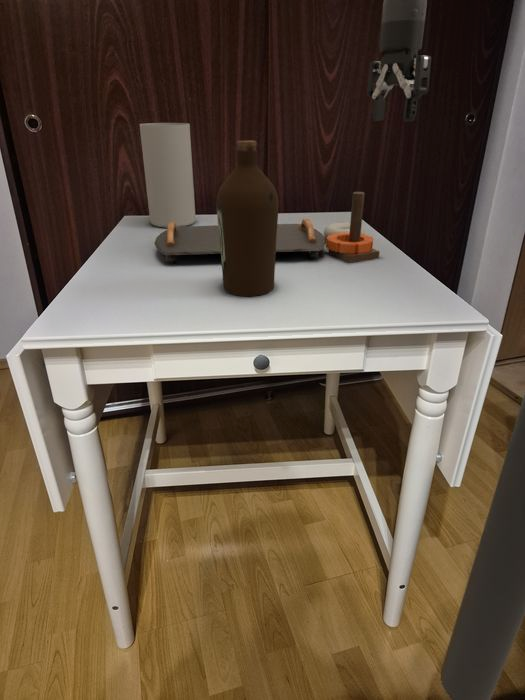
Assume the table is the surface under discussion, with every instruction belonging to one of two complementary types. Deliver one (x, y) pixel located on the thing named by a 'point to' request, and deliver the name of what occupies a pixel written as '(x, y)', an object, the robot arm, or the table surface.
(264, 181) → the olive oil
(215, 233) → the serving tray
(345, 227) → the donut
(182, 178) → the cylinder vase
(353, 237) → the stand
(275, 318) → the table surface
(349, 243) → the ring
